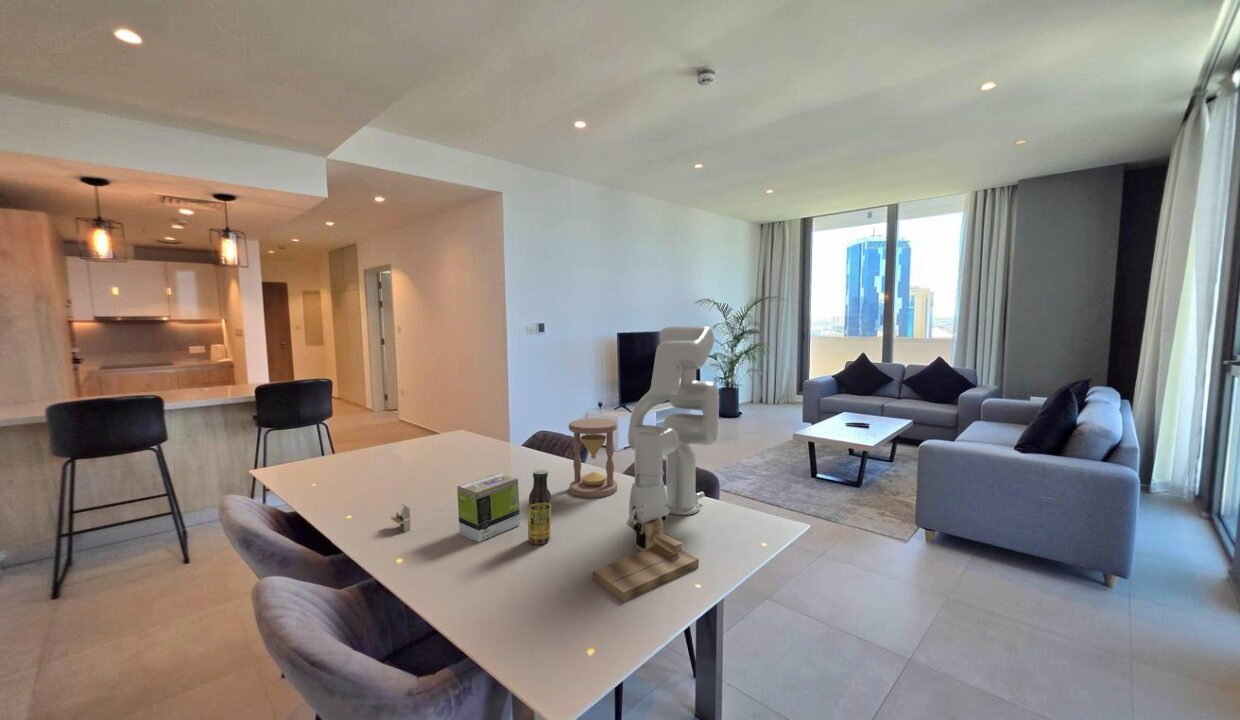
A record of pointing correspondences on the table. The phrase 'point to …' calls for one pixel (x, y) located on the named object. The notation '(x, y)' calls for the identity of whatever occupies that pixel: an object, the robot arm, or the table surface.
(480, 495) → the tea box
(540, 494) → the sauce bottle
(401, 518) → the architectural model
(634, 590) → the board
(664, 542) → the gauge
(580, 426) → the hourglass
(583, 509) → the table surface
